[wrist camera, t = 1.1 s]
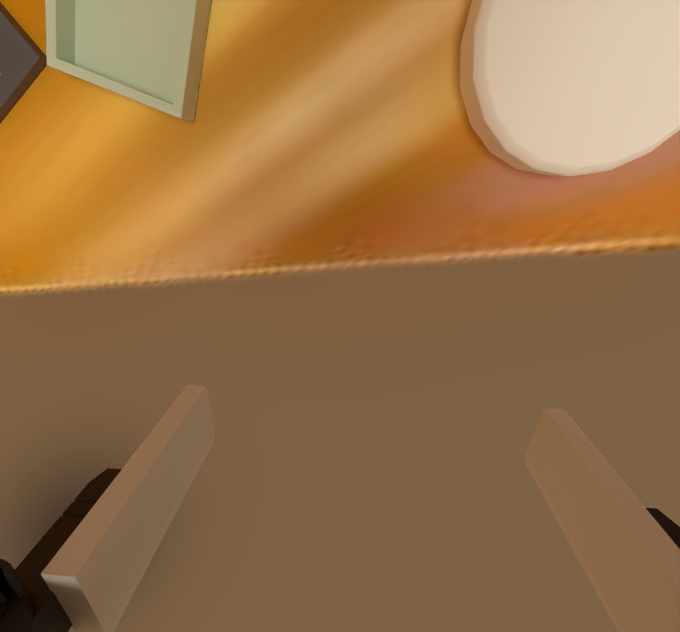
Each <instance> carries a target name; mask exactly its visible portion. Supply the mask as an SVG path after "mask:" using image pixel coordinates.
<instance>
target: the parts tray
mask: <svg viewBox="0 0 680 632" xmlns="http://www.w3.org/2000/svg"><path fill="white" fill-rule="evenodd" d="M211 3H212V0H45V7H46V54H47V65H48V66H50V67H53V68H55V69H58V70H60V71H63V72H65V73H68V74H70V75H73V76H75V77H78V78H80V79H83V80H85V81H88V82H90V83H93V84H95V85H98V86H100V87H103V88H105V89H108V90H110V91H113V92H115V93H118V94H120V95H123V96H125V97H128V98H130V99H133V100H135V101H138V102H140V103H143V104H145V105H148V106H150V107H153V108H155V109H158V110H160V111H163V112H165V113H168V114H170V115H173V116H175V117H178V118H180V119H184V120H188V121H192V122H194V118H195V112H196V105H197V98H198V91H199V85H200V78H201V71H202V64H203V57H204V51H205V44H206V37H207V30H208V24H209V17H210V10H211Z"/></svg>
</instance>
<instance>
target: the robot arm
mask: <svg viewBox="0 0 680 632" xmlns="http://www.w3.org/2000/svg"><path fill="white" fill-rule="evenodd" d="M214 439H215V435H214V429H213V423H212V417H211V411H210V405H209V399H208V393H207V387H206V386H193V385H187V386H186V388H185V389H184V390H183V392H182V393H181V394H180V395H179V397H178V398H177V399H176V401H175V402H174V403H173V405H172V406H171V407H170V408H169V410H168V411H167V412H166V413H165V415H164V416H163V417H162V419H161V420H160V421H159V422H158V424H157V425H156V426H155V428H154V429H153V430H152V432H151V433H150V434H149V435H148V437H147V438H146V439H145V440H144V442H143V443H142V444H141V446H140V447H139V448H138V449H137V451H136V452H135V453H134V455H133V456H132V457H131V458H130V460H129V461H128V462H127V464H126V465H125V466H124V467H123V469H110V468H108V469H106V470H105V471H104V472H102V473H101V474H100V475H98V476H97V477H96V478H94V479H93V480H92V481H90V482H89V483H88V484H87V486H86V487H85V488H84V489H83V490H82V491H81V493H80V494H79V495H78V496H77V497H76V499H75V501H74V502H73V503H71V504H70V506H69V507H68V508H67V509H66V510H65V511H64V513H63V516H62V517H59V519H58V520H57V521H56V522H55V523H54V524H53V526H52V527H51V528H50V529H49V530H48V531H47V533H46V534H45V535H44V536H43V537H42V539H41V540H40V541H39V542H38V543H37V544H36V546H35V547H34V548H33V549H32V550H31V551H30V553H29V554H28V555H27V556H26V557H25V559H24V560H23V561H22V562H21V563H20V564H19V566H18V567H17V568H16V569H15V570H14V569H13V567H12V566H11V564H10V563H8V562H7V561H5V560H3V559H0V632H68V631H69V629H70V628H71V626H72V627H73V628H74V630H75V631H76V632H113V631H114V629H115V627H116V625H117V623H118V621H119V619H120V618H121V616H122V614H123V612H124V610H125V608H126V606H127V604H128V602H129V601H130V599H131V597H132V595H133V593H134V591H135V589H136V587H137V585H138V583H139V582H140V580H141V578H142V576H143V574H144V572H145V570H146V568H147V566H148V565H149V563H150V561H151V559H152V557H153V555H154V553H155V551H156V549H157V547H158V545H159V544H160V542H161V540H162V538H163V536H164V534H165V532H166V530H167V528H168V527H169V525H170V523H171V521H172V519H173V517H174V515H175V513H176V511H177V509H178V508H179V506H180V504H181V502H182V500H183V498H184V496H185V494H186V492H187V490H188V489H189V486H190V485H191V483H192V481H193V479H194V477H195V475H196V474H197V471H198V470H199V468H200V466H201V464H202V462H203V460H204V458H205V456H206V455H207V453H208V450H209V449H210V447H211V445H212V443H213V441H214ZM524 461H525V463H526V465H527V466H528V468H529V470H530V471H531V473H532V475H533V477H534V479H535V481H536V483H537V484H538V486H539V488H540V490H541V492H542V494H543V495H544V497H545V499H546V501H547V503H548V505H549V506H550V508H551V510H552V512H553V514H554V515H555V517H556V519H557V521H558V523H559V524H560V526H561V528H562V530H563V532H564V534H565V535H566V537H567V539H568V541H569V543H570V544H571V546H572V548H573V550H574V552H575V553H576V555H577V557H578V559H579V561H580V563H581V564H582V566H583V568H584V570H585V572H586V573H587V575H588V577H589V579H590V581H591V582H592V584H593V586H594V588H595V590H596V592H597V593H598V595H599V597H600V599H601V601H602V602H603V604H604V606H605V608H606V610H607V612H608V613H609V615H610V617H611V619H612V621H613V622H614V624H615V626H616V628H617V629H618V631H619V632H680V527H679V526H678V525H677V524H675V523H674V522H673V521H672V520H670V519H669V518H668V517H667V516H665V515H664V514H663V513H662V512H660V511H659V510H658V509H655V508H654V509H653V508H645V507H644V506H643V504H642V503H641V502H640V501H639V499H638V498H637V497H636V496H635V495H634V494H633V492H632V491H631V490H630V489H629V488H628V486H627V485H626V484H625V483H624V481H623V480H622V479H621V478H620V477H619V475H618V474H617V473H616V472H615V471H614V469H613V468H612V467H611V466H610V464H609V463H608V462H607V461H606V460H605V458H604V457H603V456H602V455H601V454H600V452H599V451H598V450H597V449H596V447H595V446H594V445H593V444H592V443H591V442H590V440H589V439H588V438H587V437H586V435H585V434H584V433H583V432H582V431H581V429H580V428H579V427H578V426H577V425H576V423H575V422H574V421H573V420H572V419H571V417H570V416H569V415H568V414H567V413H566V411H565V410H560V409H545V408H544V409H543V412H542V415H541V418H540V420H539V423H538V425H537V428H536V430H535V433H534V436H533V438H532V441H531V444H530V446H529V449H528V452H527V454H526V457H525V459H524Z"/></svg>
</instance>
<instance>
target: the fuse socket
mask: <svg viewBox="0 0 680 632" xmlns="http://www.w3.org/2000/svg"><path fill="white" fill-rule="evenodd" d="M46 65H47V57H46V56H45V55H44V54H43V52H42V51H41V50H40V49H39V48H38V47H37V45H36V44H35V43H34V42H33V41H32V39H31V38H30V37H29V36H28V35H27V34H26V32H25V31H24V30H23V29H22V28H21V26H20V25H19V24H18V23H17V22H16V21H15V19H14V18H13V17H12V16H11V15H10V13H9V12H8V11H7V10H6V9H5V8H4V6H3V5H2V4H1V3H0V123H1V121H2V120H3V119H4V118H5V116H6V115H7V114H8V113H9V111H10V110H11V109H12V108H13V106H14V105H15V104H16V103H17V101H18V100H19V99H20V98H21V96H22V95H23V94H24V92H25V91H26V90H27V89H28V87H29V86H30V85H31V84H32V82H33V81H34V80H35V79H36V77H37V76H38V75H39V74H40V72H41V71H42V70H43V69H44V67H45V66H46Z"/></svg>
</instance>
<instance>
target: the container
mask: <svg viewBox="0 0 680 632" xmlns="http://www.w3.org/2000/svg"><path fill="white" fill-rule="evenodd" d="M460 91H461V94H462V98H463V101H464V105H465V108H466V112H467V115H468V119H469V122H470V125H471V127H472V128H473V129H474V131H475V132H476V134H477V135H478V136H479V138H480V139H481V141H482V142H483V143H484V145H485V146H486V148H487V149H488V150H489V152H490V153H492V154H493V155H495V156H496V157H498V158H500V159H501V160H503V161H504V162H506V163H507V164H509V165H510V166H512V167H514V168H515V169H518V170H523V171H528V172H533V173H538V174H543V175H549V176H564V177H571V176H578V175H585V174H592V173H599V172H606V171H610V170H612V169H614V168H617V167H619V166H621V165H623V164H626V163H628V162H630V161H632V160H635V159H637V158H639V157H641V156H644V155H646V154H648V153H650V152H651V151H652V150H654V149H655V148H656V147H658V146H659V145H660V144H662V143H663V142H664V141H666V140H667V139H668V138H670V137H671V136H672V135H673V134H675V133H676V132H677V131H679V130H680V0H472V2H471V6H470V10H469V13H468V17H467V21H466V25H465V28H464V32H463V36H462V40H461V44H460Z"/></svg>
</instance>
